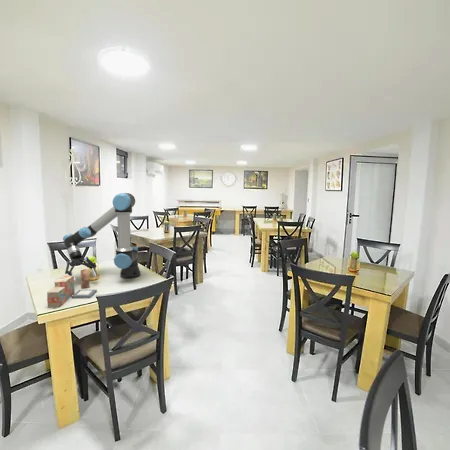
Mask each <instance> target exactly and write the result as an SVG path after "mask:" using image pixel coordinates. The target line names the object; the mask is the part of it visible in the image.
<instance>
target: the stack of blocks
mask: <svg viewBox="0 0 450 450" xmlns="http://www.w3.org/2000/svg"><path fill="white" fill-rule="evenodd" d="M74 277H75V275H74V276H69V275H63V276H61V277H60V278H58V279H57V280H55V281H54V287H53V288H51V289H50V290H48V291H47V292H46V296H47V297H46V301H47V308H48V309H49V308H50V309H51V308H52V309H53V308H60V307H61V306H63V304H64V303H66V302H67V301H68V300H69V299H71V298H72V295H74V294H75V293H76V291H75V282H74Z"/></svg>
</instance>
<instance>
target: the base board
mask: <svg viewBox="0 0 450 450" xmlns="http://www.w3.org/2000/svg"><path fill="white" fill-rule="evenodd" d="M97 292H98V289H78V290H77V291H75V294H74V295H73V296H71V300H72V299H92V297H93V296H94V295H95V294H96V293H97Z"/></svg>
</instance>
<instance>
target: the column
mask: <svg viewBox="0 0 450 450" xmlns="http://www.w3.org/2000/svg"><path fill="white" fill-rule="evenodd" d="M80 287H81V290H87V289H88V288H90V270H89V269H81V270H80Z"/></svg>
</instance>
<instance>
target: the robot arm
mask: <svg viewBox="0 0 450 450" xmlns="http://www.w3.org/2000/svg"><path fill="white" fill-rule="evenodd" d="M135 204H136V198H135V196H134V195H133V194H132V193H130V192H129V193H127V192H121V193H118V194H116V195H114V197H113V198H112V206H111V208H110V209H109V210H107V211H106V212H104V213H103V214H102V215H101V216H100V217H99V218H97V219H95V221H94V222H92V223H91V224H90V225H88V226H83V227H82V228H80V229H78V230H77V231H76V232H74V233H73V234H72V233H67V234H65V235H64V236H63V237H62V240H63V244H64V247H65V249H66V252H67V254H68V256H69V258H70V259H67V261H66V268H65V273H64V274H65V275H67V276H74V283H76V277H75V275H74V272H73V269H74V268H75V266H85V267H87V268H89V269H90V271H91V274H92V276H93V279H95V278H96V277H97V274H96V272H97V270H96V267H97V265H96V263H94V262H93V261H92V260H91V259H90V258H89V257H88V256H85V257H83V255H82V252H81V250H80V249H81V248H80V247H79V244H80V243H81V242H83V241H85V240H86V239H89V238H92V237H95V236H96V235H97V233H98V232H99V231H101V230H102V229H104V228H105V227H106V226H107V225H108V224H110V223H111V222H112V221H114V220H115V219H116V218H117V219H116V220H117V248H116V249H115V256H114V259H113V263H114V266H116V267H117V268H118V269H121V270H120V278H123V279H133V278H138V277H140V276H141V270H140V267H139V248H138V247H137V246H131V214H133V207H134V206H135ZM71 264H72V266H71V267H70V265H71ZM69 268H70V270H69Z"/></svg>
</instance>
